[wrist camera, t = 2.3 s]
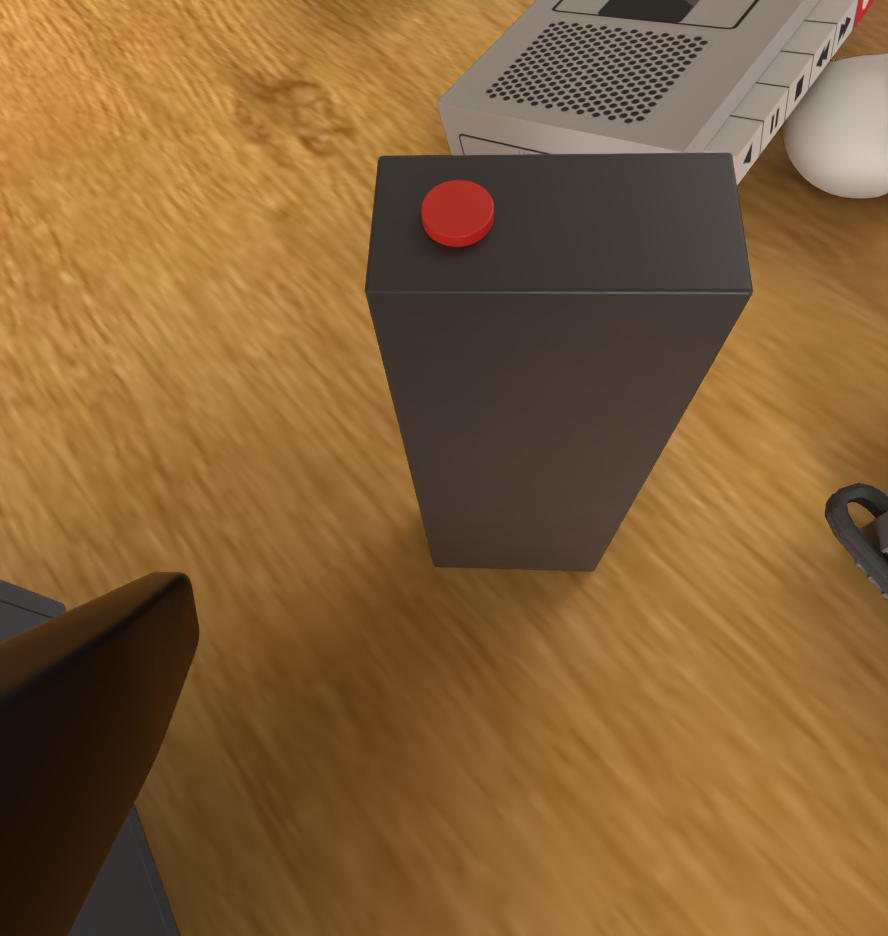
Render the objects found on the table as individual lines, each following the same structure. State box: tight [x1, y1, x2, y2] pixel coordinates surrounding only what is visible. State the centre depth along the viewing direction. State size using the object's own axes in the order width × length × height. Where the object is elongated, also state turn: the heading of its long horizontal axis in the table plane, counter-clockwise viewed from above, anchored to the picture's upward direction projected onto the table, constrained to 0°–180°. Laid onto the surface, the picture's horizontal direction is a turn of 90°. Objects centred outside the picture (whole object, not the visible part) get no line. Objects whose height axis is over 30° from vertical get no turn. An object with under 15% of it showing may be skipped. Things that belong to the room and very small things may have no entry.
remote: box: [365, 153, 753, 571], centre depth 15 cm, size 2×5×13 cm, turn 87°
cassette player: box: [437, 0, 873, 185], centre depth 25 cm, size 16×3×10 cm
